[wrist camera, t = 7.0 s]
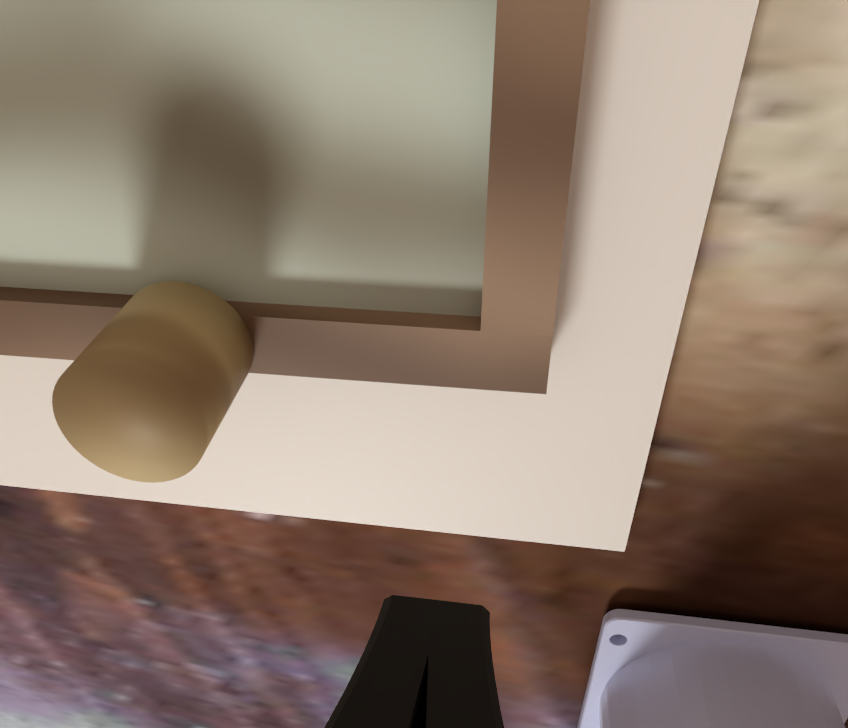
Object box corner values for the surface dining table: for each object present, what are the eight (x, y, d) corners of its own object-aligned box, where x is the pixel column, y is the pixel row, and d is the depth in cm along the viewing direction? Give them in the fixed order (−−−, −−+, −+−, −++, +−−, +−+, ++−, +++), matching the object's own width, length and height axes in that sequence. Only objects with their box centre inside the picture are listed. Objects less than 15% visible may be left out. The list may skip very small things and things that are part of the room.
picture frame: (542, 390, 18) (544, 517, 15) (-84, 345, 20) (-216, 450, 16) (602, -160, 12) (628, -165, 9) (-303, -161, 14) (-585, -165, 10)
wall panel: (621, 530, 22) (624, 553, 21) (-78, 457, 23) (-97, 476, 23) (869, -517, 10) (893, -544, 10) (-505, -499, 12) (-569, -520, 12)
